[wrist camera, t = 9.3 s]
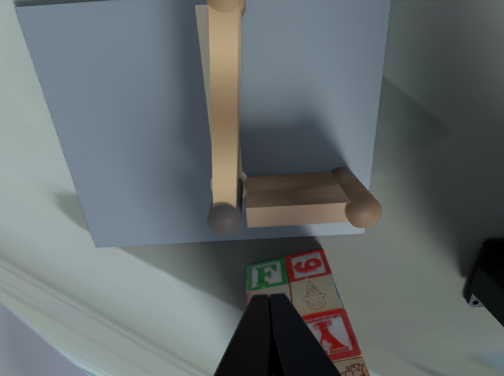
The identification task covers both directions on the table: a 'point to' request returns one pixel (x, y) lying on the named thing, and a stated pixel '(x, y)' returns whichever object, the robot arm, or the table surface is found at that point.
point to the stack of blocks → (312, 303)
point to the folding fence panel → (225, 114)
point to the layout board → (203, 105)
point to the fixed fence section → (310, 200)
